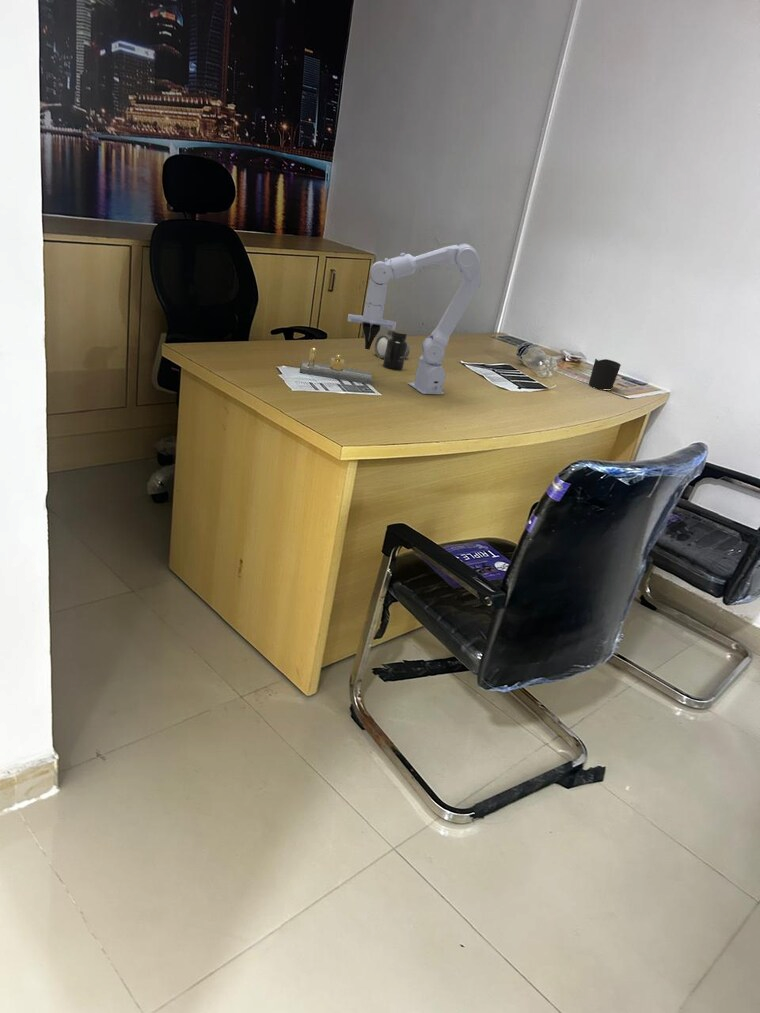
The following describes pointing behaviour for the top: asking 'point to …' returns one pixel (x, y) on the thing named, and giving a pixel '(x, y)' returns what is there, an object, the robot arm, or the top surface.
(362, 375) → the bolt plate
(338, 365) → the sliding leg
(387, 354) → the supplement bottle
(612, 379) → the pen holder
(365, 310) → the robot arm
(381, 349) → the pipe fitting
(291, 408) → the top surface
